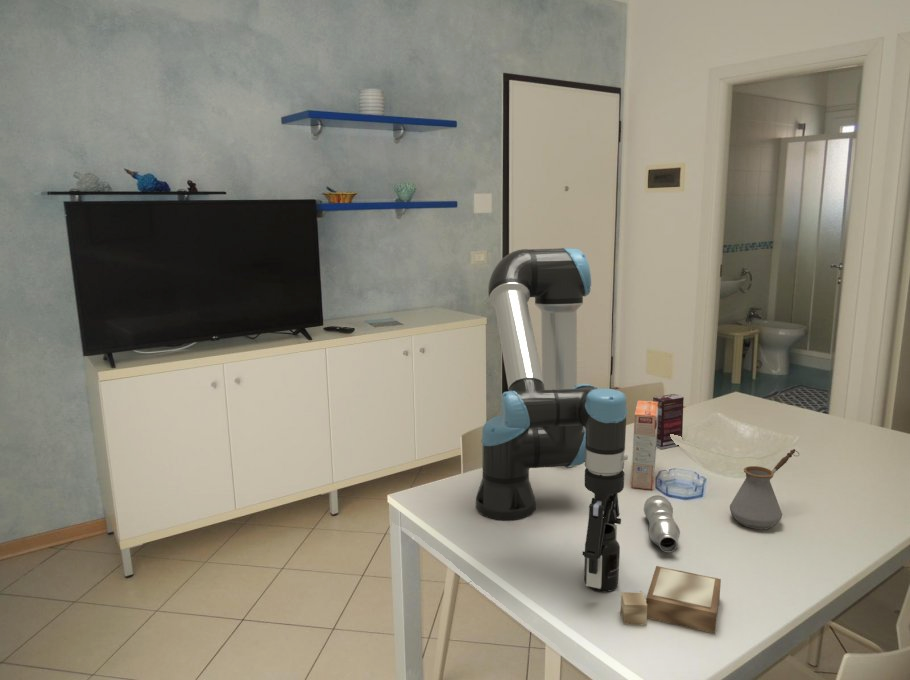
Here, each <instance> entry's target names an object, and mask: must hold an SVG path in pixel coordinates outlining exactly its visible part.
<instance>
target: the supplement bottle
mask: <svg viewBox="0 0 910 680" xmlns="http://www.w3.org/2000/svg"><path fill="white" fill-rule="evenodd" d="M615 538H616V535H615V528H614V527H613V526H611V525H609V524H606V525H605V531H604V537H603V543H602V549H601V555H602V580H601V589H599V588H594V587H590V586H587V587H588V588H589V589H591V590H594V591H596V592H606V593H607V592H611V591H614V590H615V589H617V587H618V586H619V579H620V578H619V577H620V558H621V555H620V553H621V547H620V546H621V545H620V544H619V542H618V541H616V540H615ZM585 544H586V542H585ZM585 544H584V545H585ZM583 568H584V569H583V570H584V571H583V572H584V573H583V574H584V575H583V581H584V583H585V585H586V579H587V558H585V557H584V567H583Z"/></svg>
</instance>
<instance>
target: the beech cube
mask: <svg viewBox="0 0 910 680" xmlns="http://www.w3.org/2000/svg"><path fill="white" fill-rule="evenodd" d="M645 597H646V596H645V595H644V592H627V591H626V592H624V591H621V593H620V598H621V599H620V615H621V617H622V621H623V625H637V626H638V625H639V626H647V620H648V618H647V603H646V598H645Z"/></svg>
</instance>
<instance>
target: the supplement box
mask: <svg viewBox="0 0 910 680" xmlns="http://www.w3.org/2000/svg"><path fill="white" fill-rule="evenodd" d="M652 401H655V402H658V427H657V444H656V449H659V450H665V449H669V448H674V447H677V446H676V444H675V443H674V441H673V440H672V439H671V437H670V434H674V435H678V436H681V437H682V438H683V431H684V430H683V427H684V426H683V424H684V423H683V422H684V396H681V395H679V394H675V393H673V394H671V393H670V394H666V395H662V396H661V395H660V396H654V397H652Z"/></svg>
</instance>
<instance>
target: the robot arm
mask: <svg viewBox="0 0 910 680" xmlns="http://www.w3.org/2000/svg"><path fill="white" fill-rule="evenodd" d="M591 287H592V274H591V269H590V264H589V261H588V259H587V257H586V255H585V253H584V252H583V251H581V250H580V249H578V248H569V247H568V248H566V247H562V248H561V247H560V248H536V249H535V248H532V249H527V248H523V249H517V250H514V251H512V252H510V253H508V254H507V255H505V256H504V257H503V258H502V259H501V260H499V262H498V263H497V264H496V266H495V267H494V269H493V271H492V272H491V275H490V278H489V282H488V287H487V288H488V290H487V293H488V299H489V304H490V305H491V307H492V308H494V309H495V316H496V321H497V327H498V333H499V340H500V346H501V352H502V358H503V359H502V360H503V365H504V372H505V377H506V384H507V390H508V391H504V392H503V393H502V394H501V398H500V411H501V413H500V415H497V416H495V417H492V418H490V419H488V420H487V421H486V422H484V425H483V427H482V431H481V432H482V435H481V441H480V442H481V445H482V447H481V448H482V449H481V450H482V454H481V455H482V459H481V460H482V461H481V462H482V466H481V467H482V476H481V477H482V478H481V481H480V485H479V488H478V490H477V494H476V496H475V507H476V508H475V509H476V510H477V512H478V513H480V514H481V515H482V516H484V517H487V518H488V519H489V518H490V519H494V520H499V521H501V520H502V521H514V520H520V519H524V518H527V517H528V516H531V515H532V514H534V512H535V511H536V507H537V505H536V501H537V499H536V496H535V493H534V490H533V486H532V484H531V480H530V477H529V476H530V475H529V474H530V469H539V468H541V469H542V468H543V469H544V468H557V467H558V468H560V467H562V468H563V467H564V468H570V467H569V466H573V467H575V466H581V465H583V464H584V467H585V468H584V487H585V489H587V490H588V491H589V492H591V493H592V494H593V495H594V497H592V498H591V502H590V503H589V505H588V509H589V510H588V519H587V520H588V522H587V530H586V538H585V543H586V544H584V551H583V550H582V554H581V555H582V556H583V557H584V559H585V558H587V579H586V584H585V585H586V587H588V586H590V587H594V588H599V589H601V580H602V555H601V549H602V543H603V537H604V531H605V525H606V524H609V525H611V526H613V527H614V528H615V535H616V538H615V540H616V541H617V539H618V538H617V536H618V525H621V524H622V518H621V517H620V518H619V516H620V506H619V505H620V504H619V497H618V496H619V495H618V494H619V493H621V492H623V490H624V488H625V472H624V470H625V461H628V459H629V456H628V455H626V454H625V451H626V433H627V430H626V429H627V416H628V408H627V397H626V394H625V393H624V392H622V391H620V390H616V389H614V388H603V387H602V388H598V387H596V386H594V385H592V384H588V383H579V384H578V359H577V358H578V353H577V351H578V346H577V343H578V341H577V340H578V339H577V337H578V335H577V334H578V329H577V326H578V325H577V322H578V321H577V319H578V318H577V312H578V310H579V308H580V307H582V305H583V304H584V297H587V296H589V294H590V293H591ZM530 298H534V305H535V306H536V307H537V308H538V309H539V311H540V314H541V316H540V317H541V364H540V359H539V353H538V349H537V343H536V340H535V335H534V334H535V333H534V329H533V324H532V320H531V315H530V309H529V305H528V302H529V300H530ZM617 542H618V541H617Z"/></svg>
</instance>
